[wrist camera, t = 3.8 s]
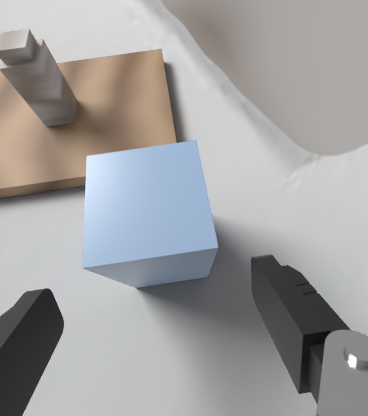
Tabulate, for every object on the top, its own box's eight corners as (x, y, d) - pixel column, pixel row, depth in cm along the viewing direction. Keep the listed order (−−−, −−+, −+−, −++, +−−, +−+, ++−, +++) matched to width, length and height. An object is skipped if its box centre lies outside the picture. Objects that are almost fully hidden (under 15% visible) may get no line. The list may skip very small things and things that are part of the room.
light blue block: (196, 210, 20) (196, 140, 12) (208, 277, 18) (218, 247, 10) (132, 220, 20) (86, 156, 12) (136, 287, 18) (82, 268, 9)
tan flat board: (163, 61, 28) (150, -33, 21) (180, 171, 22) (172, 95, 14) (-18, 86, 28) (-99, 1, 20) (-54, 205, 22) (-194, 147, 14)
